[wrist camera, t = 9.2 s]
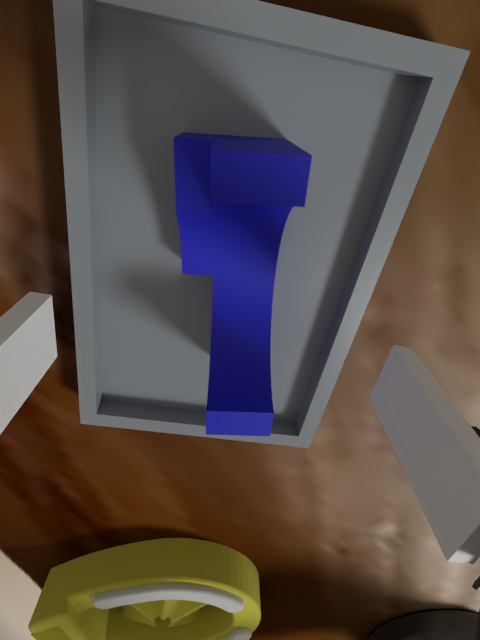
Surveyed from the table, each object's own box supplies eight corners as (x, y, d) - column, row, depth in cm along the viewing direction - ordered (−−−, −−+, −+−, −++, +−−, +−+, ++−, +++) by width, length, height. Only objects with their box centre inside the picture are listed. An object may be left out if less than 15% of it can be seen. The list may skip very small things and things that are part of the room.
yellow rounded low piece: (33, 546, 34) (5, 609, 30) (250, 527, 33) (252, 589, 29) (91, 619, 43) (75, 677, 38) (265, 606, 42) (269, 663, 37)
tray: (304, 425, 26) (309, 448, 24) (91, 401, 25) (80, 423, 23) (443, 57, 15) (470, 51, 13) (72, -30, 13) (49, -50, 12)
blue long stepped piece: (183, 132, 16) (159, 145, 10) (286, 139, 16) (312, 155, 11) (187, 355, 22) (173, 433, 17) (261, 358, 22) (270, 436, 17)
